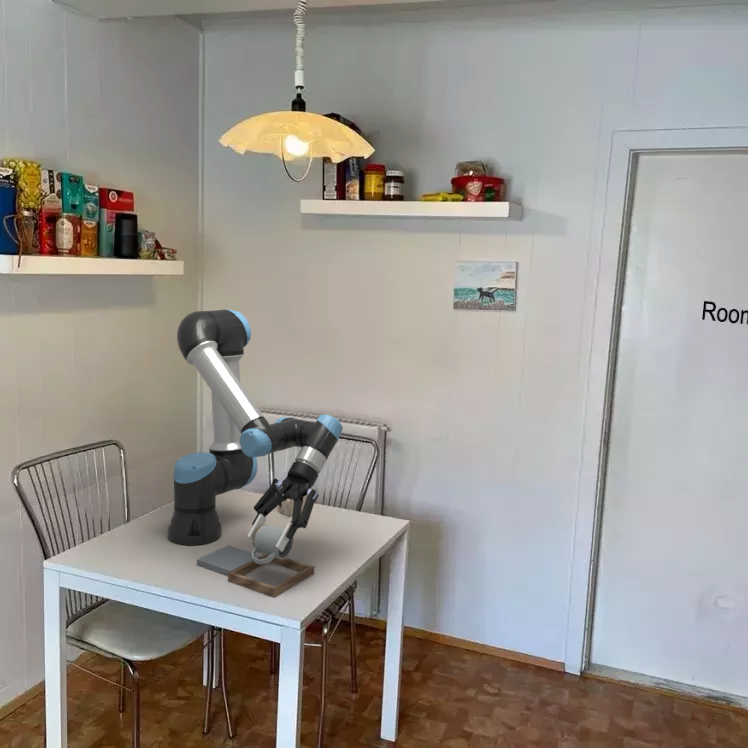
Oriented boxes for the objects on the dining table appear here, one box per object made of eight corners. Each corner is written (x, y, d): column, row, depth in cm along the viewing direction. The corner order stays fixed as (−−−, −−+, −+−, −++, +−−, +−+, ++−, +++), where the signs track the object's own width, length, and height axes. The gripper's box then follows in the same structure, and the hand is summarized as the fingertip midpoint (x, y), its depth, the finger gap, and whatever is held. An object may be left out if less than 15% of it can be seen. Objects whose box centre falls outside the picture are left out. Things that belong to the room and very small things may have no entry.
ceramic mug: (266, 545, 190) (266, 518, 188) (293, 552, 186) (294, 524, 185) (243, 561, 180) (243, 532, 178) (271, 569, 177) (272, 539, 175)
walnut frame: (228, 580, 183) (228, 573, 182) (269, 559, 196) (269, 552, 196) (274, 597, 175) (274, 589, 175) (314, 574, 188) (314, 566, 188)
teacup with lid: (280, 505, 239) (281, 471, 237) (308, 507, 238) (309, 472, 236) (273, 518, 227) (273, 482, 225) (302, 520, 226) (302, 484, 224)
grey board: (196, 564, 191) (196, 559, 191) (228, 550, 201) (228, 545, 201) (230, 576, 185) (230, 571, 185) (261, 561, 195) (261, 555, 195)
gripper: (345, 484, 189) (304, 562, 178) (281, 466, 200) (239, 539, 189) (334, 469, 184) (292, 548, 173) (269, 452, 195) (225, 526, 184)
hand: (264, 543), depth 181 cm, fingers closed on ceramic mug, 8 cm apart
